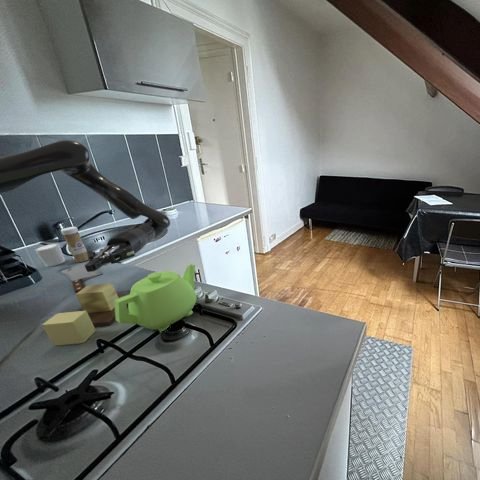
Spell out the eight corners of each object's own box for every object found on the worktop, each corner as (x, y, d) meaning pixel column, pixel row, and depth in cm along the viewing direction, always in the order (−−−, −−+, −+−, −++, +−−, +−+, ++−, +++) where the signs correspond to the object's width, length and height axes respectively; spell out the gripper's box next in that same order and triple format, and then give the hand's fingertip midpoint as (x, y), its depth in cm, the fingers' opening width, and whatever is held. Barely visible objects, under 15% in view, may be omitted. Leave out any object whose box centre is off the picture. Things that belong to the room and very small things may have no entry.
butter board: (63, 330, 64) (50, 305, 61) (100, 298, 76) (91, 277, 73) (110, 325, 65) (98, 301, 62) (139, 295, 77) (131, 274, 74)
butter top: (57, 313, 60) (68, 333, 63) (41, 324, 57) (53, 346, 59) (86, 310, 61) (96, 330, 63) (72, 322, 57) (83, 343, 59)
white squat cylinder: (57, 259, 105) (49, 243, 102) (71, 259, 104) (64, 243, 101) (38, 267, 99) (29, 250, 96) (53, 267, 98) (44, 250, 95)
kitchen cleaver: (107, 281, 84) (65, 294, 77) (108, 284, 84) (67, 297, 78) (95, 261, 100) (59, 270, 93) (96, 263, 100) (61, 272, 93)
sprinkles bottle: (83, 262, 100) (68, 230, 95) (72, 263, 101) (56, 230, 95) (93, 257, 104) (79, 225, 99) (82, 257, 105) (68, 226, 100)
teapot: (187, 290, 77) (176, 252, 73) (218, 302, 71) (208, 261, 66) (112, 334, 61) (91, 288, 57) (143, 353, 55) (123, 304, 50)
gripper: (103, 233, 81) (55, 257, 65) (146, 229, 82) (110, 253, 66) (112, 254, 84) (68, 283, 68) (154, 251, 85) (120, 278, 69)
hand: (89, 268), depth 67 cm, fingers closed
